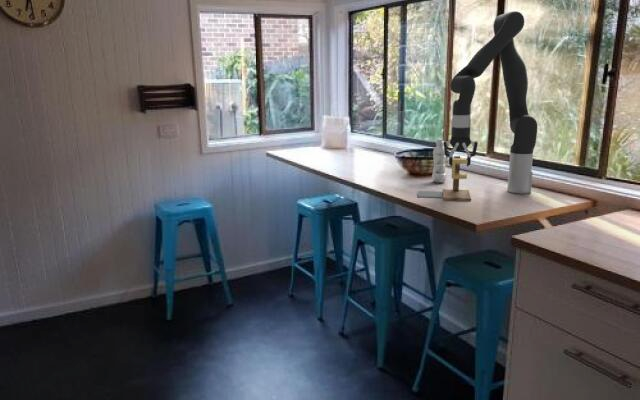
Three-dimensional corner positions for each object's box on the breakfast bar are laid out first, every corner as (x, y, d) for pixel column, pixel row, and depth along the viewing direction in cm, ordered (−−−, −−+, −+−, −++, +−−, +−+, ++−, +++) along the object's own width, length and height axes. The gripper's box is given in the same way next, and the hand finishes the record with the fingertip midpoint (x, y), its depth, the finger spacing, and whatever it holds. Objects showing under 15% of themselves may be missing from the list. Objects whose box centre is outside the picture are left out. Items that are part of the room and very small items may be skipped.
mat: (441, 192, 223) (441, 191, 223) (441, 198, 214) (441, 197, 214) (418, 191, 225) (418, 190, 225) (417, 197, 216) (417, 196, 216)
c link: (466, 176, 214) (466, 158, 212) (466, 178, 211) (467, 160, 209) (451, 176, 216) (452, 158, 214) (451, 178, 212) (452, 159, 210)
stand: (468, 192, 222) (470, 156, 218) (470, 201, 208) (472, 162, 204) (442, 191, 224) (444, 155, 220) (443, 200, 210) (444, 162, 206)
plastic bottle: (436, 184, 238) (437, 142, 233) (429, 181, 245) (430, 140, 240) (448, 183, 240) (450, 141, 235) (441, 180, 246) (442, 139, 241)
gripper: (478, 124, 210) (476, 164, 214) (442, 124, 213) (441, 164, 217) (480, 126, 203) (478, 168, 207) (443, 127, 206) (441, 167, 210)
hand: (459, 165), depth 212 cm, fingers closed on c link, 6 cm apart
